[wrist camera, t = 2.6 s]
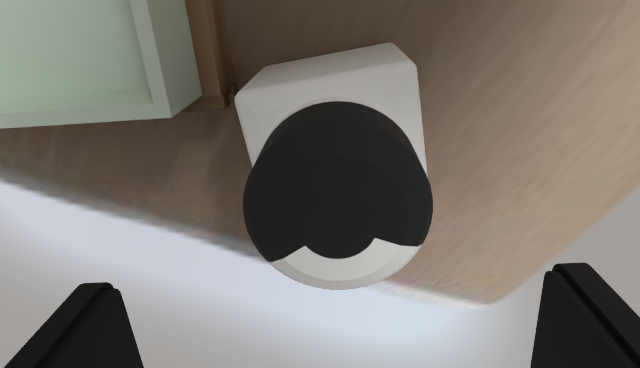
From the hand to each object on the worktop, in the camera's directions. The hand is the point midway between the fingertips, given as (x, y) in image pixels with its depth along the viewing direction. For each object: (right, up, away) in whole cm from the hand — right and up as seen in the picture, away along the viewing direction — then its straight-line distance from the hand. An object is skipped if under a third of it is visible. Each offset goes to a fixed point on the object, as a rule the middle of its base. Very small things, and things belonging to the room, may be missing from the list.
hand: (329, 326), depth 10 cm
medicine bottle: (+1, +7, +15) cm, 16 cm away
